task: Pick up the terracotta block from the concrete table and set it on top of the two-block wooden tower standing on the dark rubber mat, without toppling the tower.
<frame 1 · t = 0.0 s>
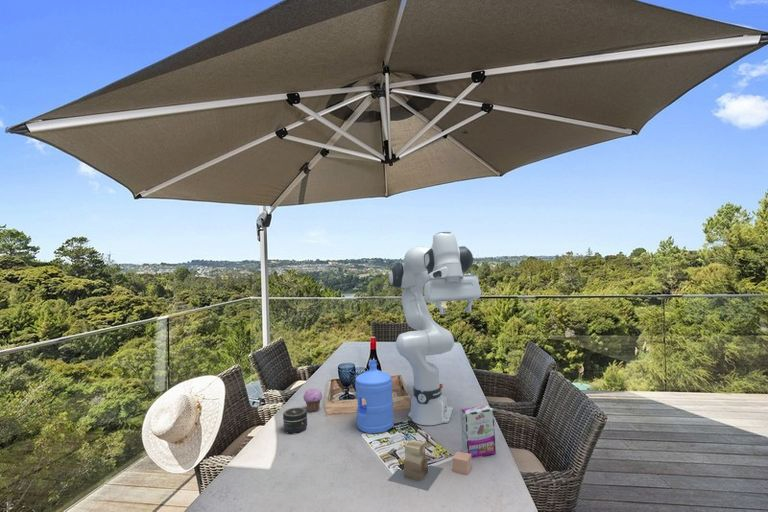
hand: (456, 313, 144), 52 cm above the table, tool tilted 20°, fingers open, 8 cm apart
candy bar box: (478, 454, 150), on the table
tower mid: (415, 459, 137), point 5 cm above the table, touching tower base
tower base: (416, 474, 137), resting on mat, touching tower mid
mat: (416, 475, 137), on the table
jar: (295, 429, 176), on the table
terracotta block: (462, 470, 139), on the table
cupcake: (313, 410, 197), on the table
water jug: (375, 426, 176), on the table
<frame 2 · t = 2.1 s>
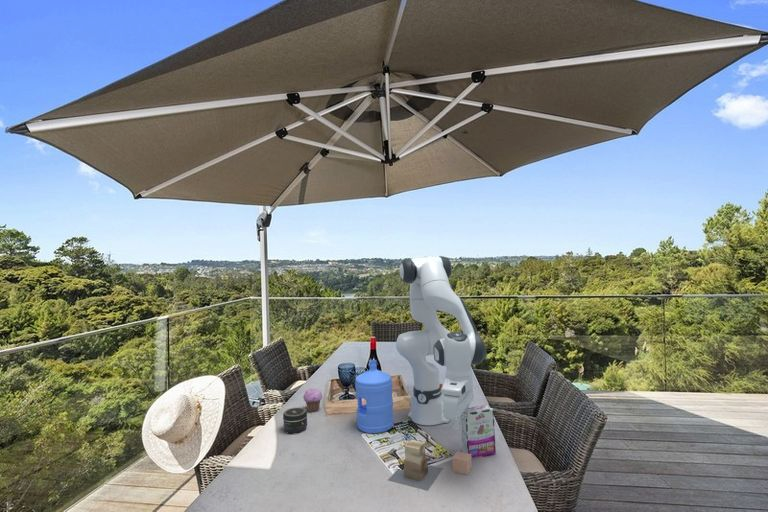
hand: (460, 423, 138), 16 cm above the table, tool pointing down, fingers open, 8 cm apart
nothing on the table moved.
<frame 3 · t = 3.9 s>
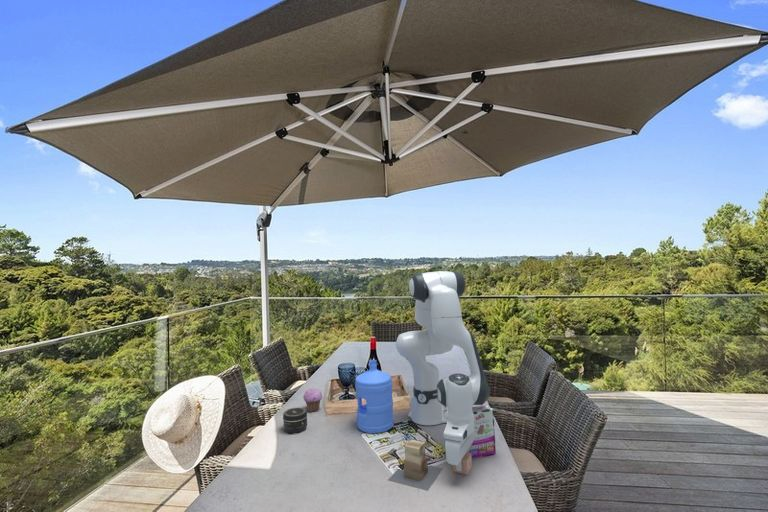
hand: (462, 465, 139), 2 cm above the table, tool pointing down, fingers closed on terracotta block, 5 cm apart
terracotta block: (462, 470, 139), on the table, touching gripper
everything else where it was.
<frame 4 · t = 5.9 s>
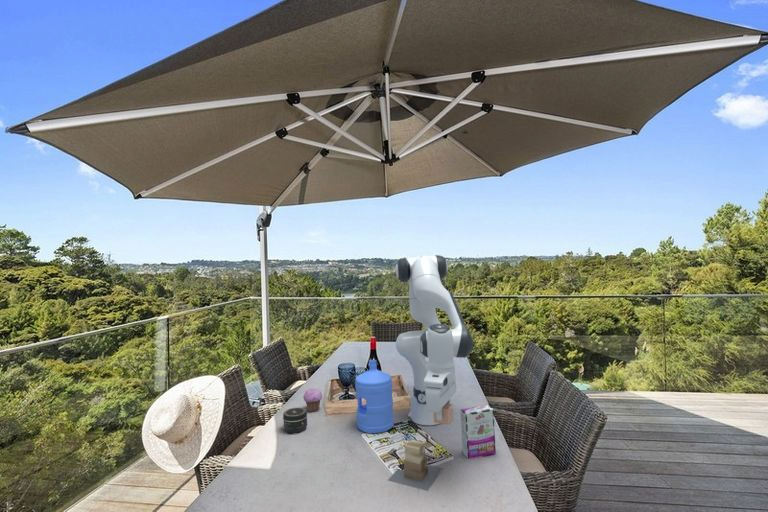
hand: (443, 415, 138), 19 cm above the table, tool pointing down, fingers closed on terracotta block, 5 cm apart
terracotta block: (443, 420, 138), point 17 cm above the table, touching gripper
everything else where it was.
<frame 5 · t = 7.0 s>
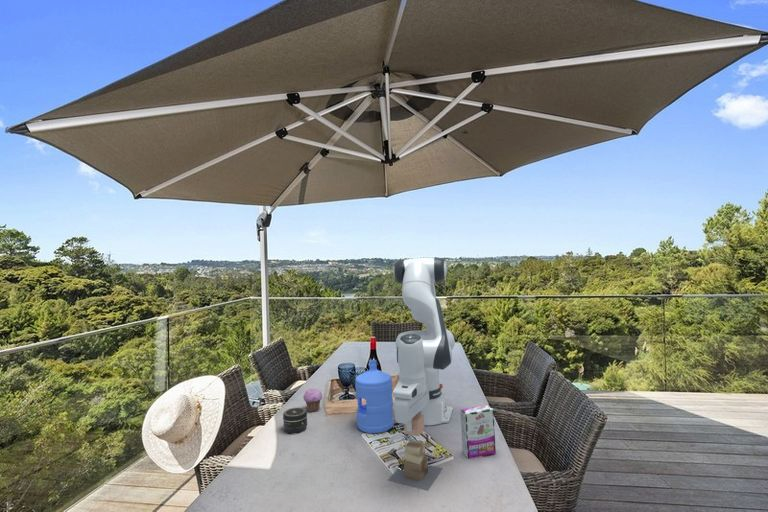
hand: (414, 426, 137), 16 cm above the table, tool pointing down, fingers closed on terracotta block, 5 cm apart
terracotta block: (414, 431, 137), point 15 cm above the table, touching gripper
everything else where it was.
when the fingers open (13 cm above the table, at t = 7.9 s): terracotta block drops 1 cm, resting on tower mid.
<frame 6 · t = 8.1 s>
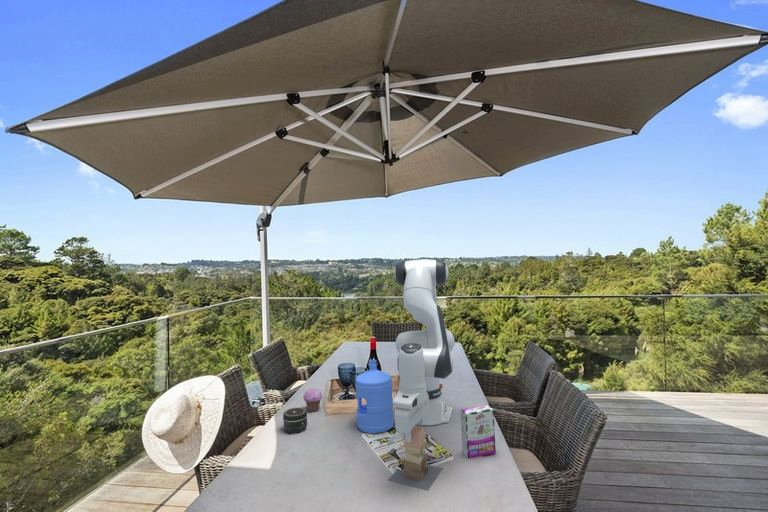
hand: (414, 435, 137), 13 cm above the table, tool pointing down, fingers open, 7 cm apart
tower mid: (415, 459, 137), point 5 cm above the table, touching terracotta block, tower base
terracotta block: (414, 444, 137), point 10 cm above the table, touching tower mid
everything else where it was.
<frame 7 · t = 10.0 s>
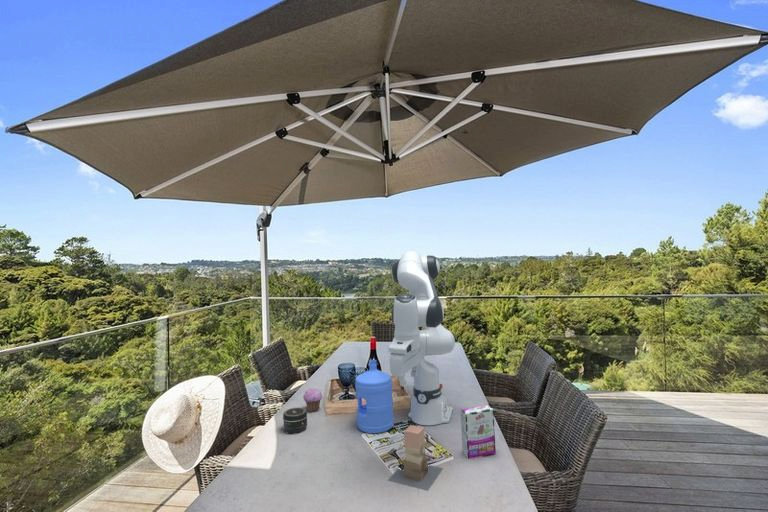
hand: (408, 380, 145), 29 cm above the table, tool pointing down, fingers open, 8 cm apart
nothing on the table moved.
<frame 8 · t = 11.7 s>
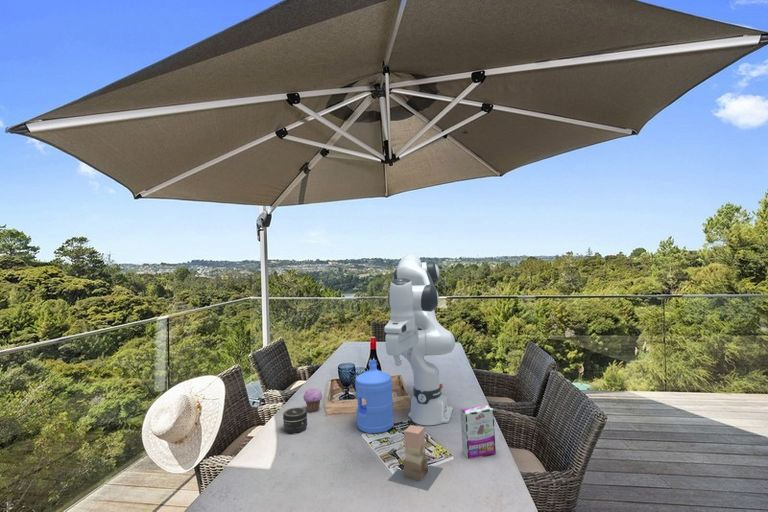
hand: (404, 361, 150), 34 cm above the table, tool pointing down, fingers open, 8 cm apart
nothing on the table moved.
at the end: terracotta block 0.1 cm off-centre on the tower base, point 10.0 cm above the tower base's base; tower mid tilted 0°; the gripper is holding nothing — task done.
